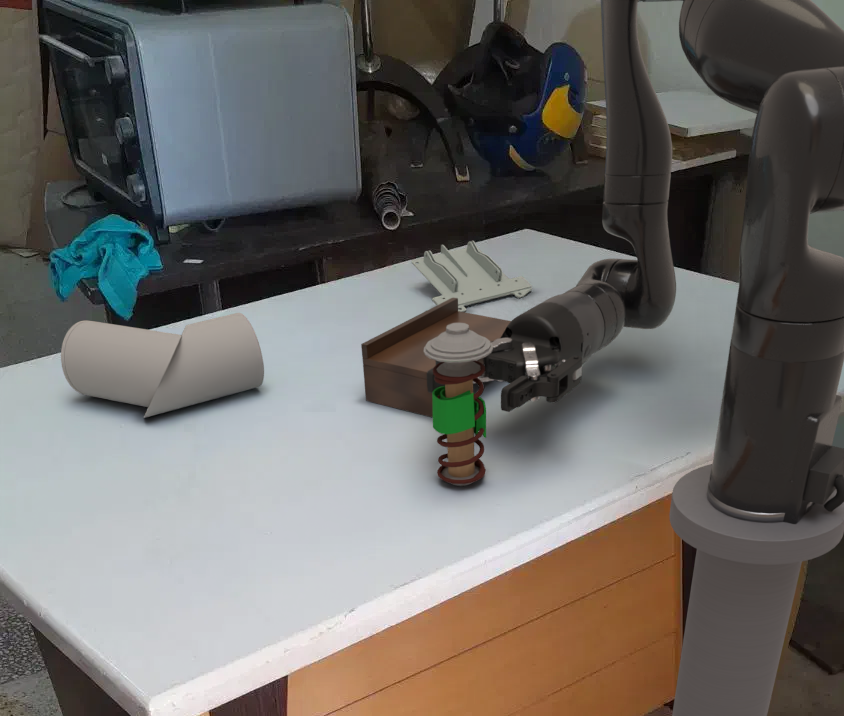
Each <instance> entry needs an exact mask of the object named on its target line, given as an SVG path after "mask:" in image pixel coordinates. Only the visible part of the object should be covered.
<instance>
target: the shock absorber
mask: <svg viewBox="0 0 844 716" xmlns="http://www.w3.org/2000/svg"><path fill="white" fill-rule="evenodd" d="M492 350H493V345H492V344H491V343H490V341H489V340H488V339H487V338H485V337H483V336H480V335H478V334H476V333H475V332H474V331H471V330H469V325H468V324H466V323H452V324H450V325H447V327H446V331H445V332H443V333H441V334H440V335H439V336H438V337H435V338H434V339H432V340H430V341H428V343H427V344H426V346H425V347H424V351H423V352H424V354H425V356H427V357H428V358H429V359H433V360H436V361H439V362H441V363H438V364H437V365H436V366H435V367H434V368H433V374H434V376H435V378H434V380H435V381H436V382H437V383H439V384H444V385H445V386H441V387H438V388H436V389H434V391H433V392H432V404H433V417H432V428H433V430H435V431H436V432H437V433H439V434H441V435H439V436H438V437H437V439H436V442H437V444H438V445H439V446H440V447H444V448H446V449H447V452H446V453H443V454H441V455H440V456H439V457H437V462H438V464H439V465H440V466H439V467H438V469H437V470H436V474H437V477H438V478H439V479H440V480H442V481H443V482H445V483H447V484H451V485H452V486H458V487H465V486H469V485H471V484H473V483H476V482H477V481H480V480H482V479H483V478H484V477H485V476H486V473H487V472H486V471H487V469H486V467H485V464H484V462H483V460H481V458H482V457H483V455H484V453H485V445H484V443H483V442H482V440H481V439H480V438H482V437H483V438H484V439H486V438H487V406H486V401H485V400H484V399H483V398H482V397H481V396H482V394H483V393H484V389H485V387H484V382H481V380H480V379H478V377H479V376H481V375H482V374H483V373H484V372H485V366H484V364H482V363H480V362H479V361H475V360H479V359H482V358H484V357H486V356H488V355H489V354H491V352H492ZM437 371H438V372H437ZM473 381H474V382H475V383H476V385H477V386H478V389H477V391H476V392H474V383H473ZM444 440H446V441H444ZM475 444H476V445H477V446H478V448H479V450H478V452H477V454H475ZM446 459H447V461H445V460H446Z"/></svg>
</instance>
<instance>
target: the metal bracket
mask: <svg viewBox="0 0 844 716" xmlns="http://www.w3.org/2000/svg"><path fill="white" fill-rule="evenodd" d="M411 264H412V265H413V266H414V268H416V270H418V272H420V274H421V275H422V276H423V277H424V278H425V279H426V280H427V281H428V282H429V283H430V284H431V285H432V287H434V289H435V290H436V291H437V292H438V293H439V294H440V295H439V296H434V297H432V299H431V301H432V303H433V304H434V305H435V306H437V305H439V304H441V303H443V302H445V301H447V300H449V299H451V298H458V311H460V312H466V311H467V308H466V307H465V306H469V305H474V304H478V303H481V302H486V301H489V300H494V299H497V298H502V297H506V296H509V295H514V296H515V297H516V298H518V299H522V298H524V297H525V296H527V294H528V293H530V292H531V291H532V290H533V285H532V284H531V283H530V282H529V281H528V280H527V279H526V278H525V277H524V276H516V277H512V278H510V277H508V276H507V275H506V274H505V273H504V272H503V269H502V267H501V266H500V265H499V264H498V263H497V262H496V261H495V260H494V259H493V258H492V257H491V256H490V255H489V254H486V253H484V252H483V251H482V250H481V249H480V248H479V247H478V245H477V244H476V242H475V241H474V240H471V241H470V240H469V241H468V242H467V245H466V247H465V248H464V247H463V248H459V249H456V250H451V251H449V250H448V248H447V247H446V246H445V244H440V253H438V254H433V252H432V251H431V250H425V251H424V252H423V257H420V258H416V259H412V260H411Z"/></svg>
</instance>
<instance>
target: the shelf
mask: <svg viewBox="0 0 844 716" xmlns="http://www.w3.org/2000/svg"><path fill="white" fill-rule="evenodd" d="M511 321H512V320H507V319H503V318H497V317H492V316H487V315H481V314H475V313H472V312H471V313H470V312H466V311H465V312H460V311H458V298H451V299H449V300H447V301H445V302H443V303H441V304H439V305H435V306H433V307H431V308H429V309H427V310H425V311H423V312H422V313H421V312H420V313H419V314H417V315H415V316H413V317H411V318H409V319H408V320H406V321H404V322H402V323H400V324H398V325H396V326H394V327H392V328H389V329H387V330H386V331H384V332H382V333H380V334H378V335H375V336H374V337H372V338H370V339H368V340H366V341H365V342H363V343H361V344H360V346H361V357H362V369H363V380H364V393H365V401H366V402H369V403H373V404H378V405H381V406H385V407H390V408H393V409H397V410H402V411H406V412H409V413H414V414H417V415H422V416H425V417H429V418H433V404H432V393H429V392H428V388H427V375H426V373H427V371H429V370H430V369H432V368H434V367H435V366H436V360H433V359H429V358H428V357H427V356H425V354H424V352H423V351H424V347H425V346H426V344H427V343H428V341H430V340H432V339H434V338H435V337H438V336H439V335H440V334H441V333H443V332H445V331H446V327H447V325H450V324H452V323H466V324H468V325H469V330H471V331H474V332H475V333H476V334H478V335H480V336H483V337H485V338H487V339H488V340H489V341H490V342H491V341H494V340H496V339H500V338H501V336H502V334H503V333H504V331H505V329H506V327H507V326H508V324H509V323H510V322H511ZM478 361H479V362H480V363H482V364H483V365H484V362H483V358H482V359H479V360H478Z"/></svg>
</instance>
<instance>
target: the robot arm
mask: <svg viewBox="0 0 844 716" xmlns="http://www.w3.org/2000/svg"><path fill="white" fill-rule="evenodd" d="M653 2H655V3H656V2H657V3H658V2H682V4H681V8H680V12H679V19H678V35H679V36H678V37H679V41H680V46H681V49H682V52H683V53H684V56H685V57H686V60H687V61H688V63H689V64H690V66H691V67H692V68H693V70H694V71H695V73H696V74H697V75H698V76H699V77H700V79H701V80H702V82H703V83H704V84H705V85H706V87H707V88H708V89H709V90H710V91H711V92H712V93H713V94H714V95H716V96H717V97H719V98H720V99H722V100H723V101H725V102H727V103H729V104H730V105H733V106H735V107H737V108H740V109H742V110H745V111H748V112H750V113H753V114H756V116H755V120H754V123H753V129H752V132H751V133H752V134H751V140H750V146H749V147H750V148H749V156H748V165H747V176H746V177H747V178H746V189H745V198H744V199H745V201H744V208H743V219H742V227H741V228H742V229H741V236H740V243H739V252H738V253H739V255H738V260H739V261H738V264H739V265H738V267H739V268H738V270H739V271H738V272H739V273H738V278H739V279H738V288H737V289H738V290H737V297H736V304H735V310H734V315H733V323H732V330H731V336H730V342H729V343H730V344H729V350H728V357H727V363H726V369H725V370H726V371H725V376H724V383H723V388H722V389H723V390H722V395H721V403H720V410H719V417H718V423H717V430H716V437H715V442H714V443H715V444H714V450H713V457H712V463H711V464H712V470H711V473H710V481H709V483H708V489H707V499H708V501H709V502H710V504H711V505H712V506H713V507H714V508H716V509H717V510H719V511H720V512H722V513H724V514H726V515H729V516H731V517H734V518H738V519H742V520H746V521H753V522H765V523H771V522H787V523H791V524H797V523H798V522H799V521H800V520H801V519H802V518H803V516H804V515H805V514H806V513H807V512H809V511H810V509H811V508H812V506H813V505H814V504H815V503H817V504H821V505H823V504H824V502H825V501H826V500H827V499H828V498H829V497H830V495H831V494H832V493H833V492H834V491H835V490H837V493H836V495H835V496H834V497H833V498H831V499H830V500H829V501H827V502H826V503H825V504H824V508H825V509H826V510H827V511H829V512H832V511H833V510H834V509H836V508H837V507H839V506H840V505H841V504H842V503H843V502H844V448H843V447H838V446H834V445H833V443H834V438H835V434H836V429H837V425H838V421H839V416H840V412H841V408H842V403H843V396H842V395H840V394H838V389H839V384H840V381H841V376H842V371H843V367H844V257H843V256H840V255H837V254H836V253H835V254H834V253H831V252H828V251H825V250H822V249H818V248H816V247H813V246H811V245H810V244H809V240H808V239H809V223H810V222H809V221H810V215H814V214H824V213H834V212H844V29H842V27H840V25H838V24H837V22H835V21H834V20H833V19H832V18H831V17H830V16H829V14H827V13H825V12H824V10H822V9H821V8H820V7H819V6H818V5H817V4H816V3H815V2H814V1H812V0H600V14H601V15H600V17H601V42H602V61H603V62H602V63H603V79H604V96H605V117H606V125H605V127H606V144H605V145H606V146H605V164H604V179H603V197H602V210H601V211H602V214H601V223H602V227H603V229H604V231H606V232H607V233H608V234H610V235H611V236H615V237H617V238H621V239H623V240H625V241H627V242H629V243H630V244H631V246H632V247H633V250H634V253H635V255H636V259H627V258H605V259H601V260H597V261H596V262H595V261H594V262H593V263H591V265H589V266H588V267H587V269H586V270H585V271H584V273H583V275H582V277H581V278H580V279H579V281H578V282H577V284H576V285H575V286H573V287H572V288H570V289H568V290H566V291H565V292H563V293H560V294H557V295H554V296H551V297H549V298H547V299H545V300H543V301H542V302H540V303H538V304H536V305H534V306H533V307H531V308H530V309H528V310H526V311H524V312H523V313H520V314H519V315H517V316H515V317H514V318H513V319H511V320H510V321H511V322H510V323H509V324H508V326H507V327H506V329H505V331H504V333H503V334H502V336H501V338H500V339H496V340H494V341H491V342H490V343H491V344H492V345H493V350H492V352H491V354H489V355H488V356H486V357H484V358H483V362H484V364H483V365H484V366H485V371H484V373H483V374H482V375H481V376H479V377H478V379H480V380H481V382H482V383H487V382H493V381H497V382H500V383H503V382H505V383H507V385H505V386H503V388H502V389H501V390H500V391H501V392H500V410H501V411H502V412H506V413H510V412H512V411H513V410H515V409H517V408H520V407H522V406H523V405H525V404H526V403H529V402H536V401H540V399H541V398H543V397H544V398H545V399H546V402H547V403H557V402H559V401H560V400H562V399H563V398H564V397H566V396H567V395H568V394H569V393H571V392H572V391H573V390H574V389H576V388H577V387H578V386H579V385H580V384H582V375H583V373H582V372H583V365H584V364H585V363H586V362H588V361H589V359H590V358H591V357H592V356H593V355H595V354H596V353H597V352H599V351H601V350H602V349H604V348H605V347H607V346H609V344H610V343H612V342H613V341H614V340H616V338H617V337H618V336H619V335H620V333H621V332H622V330H623V329H624V328H629V329H639V330H654V329H656V328H660V327H661V326H662V325H663V324H664V323H665V322H666V321H667V320H668V318H669V317H670V315H671V313H672V311H673V309H674V306H675V303H676V298H677V280H676V273H675V266H674V260H673V254H672V247H671V239H670V231H669V222H668V221H669V220H668V208H669V197H670V187H671V177H672V174H671V173H672V165H673V142H672V136H671V131H670V126H669V123H668V120H667V117H666V114H665V112H664V109H663V107H662V104H661V102H660V100H659V98H658V96H657V93H656V90H655V87H654V86H653V84H652V81H651V79H650V76H649V73H648V70H647V67H646V65H645V62H644V61H645V60H644V58H643V55H642V50H641V45H640V40H639V30H638V29H639V28H638V5H639V4H638V3H653ZM475 361H478V360H475ZM438 363H441V362H439V361H436V365H437V364H438ZM437 372H438V371H437ZM426 375H427V388H428V392H429V393H432V392H433V391H434V389H436V388H438V387H441V386H445V385H444V384H439V383H437V382H436V381H435V380H434V378H435V376H434V374H433V368H432V369H430V370H429V371H427V373H426ZM474 384H476V383H475V382H474V381H473V385H474ZM476 385H477V384H476ZM540 397H541V398H540Z"/></svg>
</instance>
